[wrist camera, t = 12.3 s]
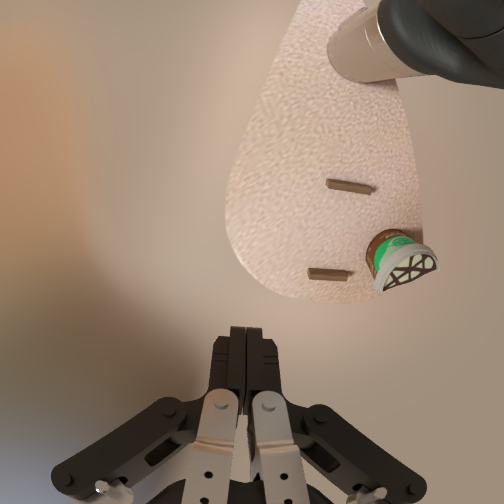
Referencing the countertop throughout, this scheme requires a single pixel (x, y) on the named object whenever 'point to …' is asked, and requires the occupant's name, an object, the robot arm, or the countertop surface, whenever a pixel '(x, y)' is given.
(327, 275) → the slot rails
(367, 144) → the countertop surface
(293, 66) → the countertop surface
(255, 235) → the countertop surface
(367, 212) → the countertop surface
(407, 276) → the food container
